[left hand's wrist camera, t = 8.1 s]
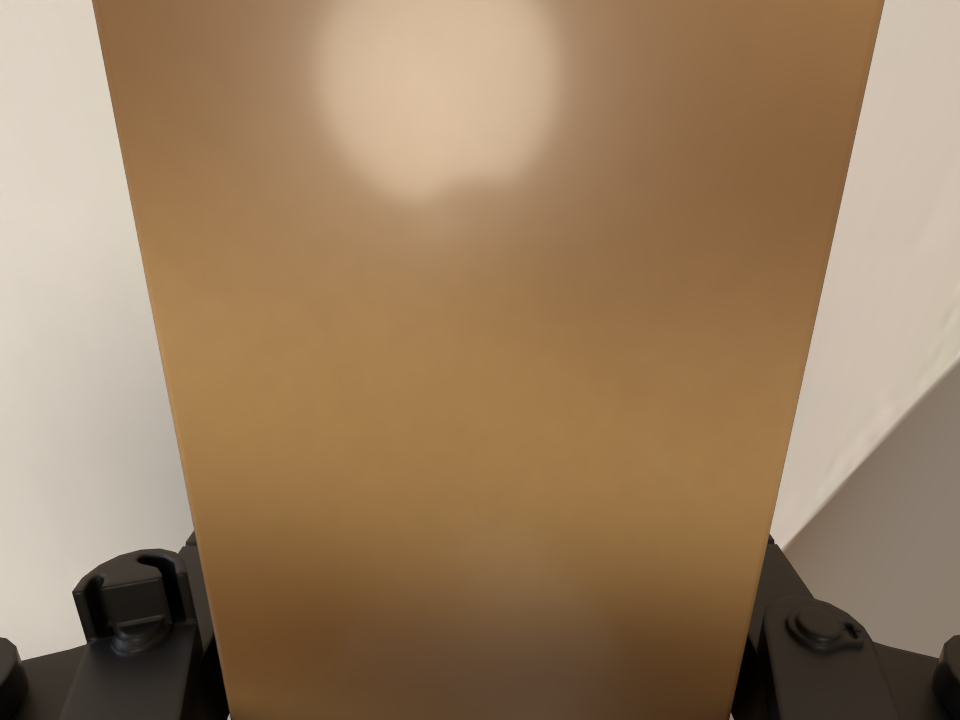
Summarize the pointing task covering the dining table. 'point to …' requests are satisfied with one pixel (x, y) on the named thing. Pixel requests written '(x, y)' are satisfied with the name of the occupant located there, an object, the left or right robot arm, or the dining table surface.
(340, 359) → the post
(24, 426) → the dining table surface
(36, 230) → the dining table surface
